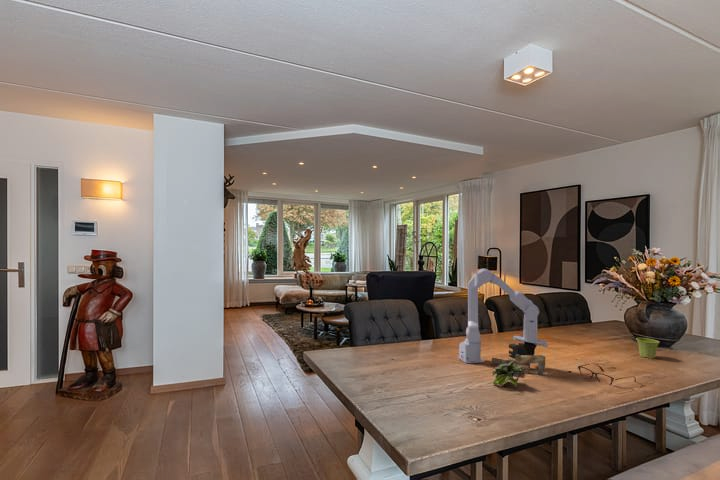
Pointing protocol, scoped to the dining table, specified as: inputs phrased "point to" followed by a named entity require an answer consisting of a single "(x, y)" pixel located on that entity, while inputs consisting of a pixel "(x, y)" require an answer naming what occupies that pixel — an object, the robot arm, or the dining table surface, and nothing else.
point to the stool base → (526, 366)
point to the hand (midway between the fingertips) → (529, 359)
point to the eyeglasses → (601, 374)
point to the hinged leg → (529, 359)
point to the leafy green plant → (506, 372)
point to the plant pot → (647, 347)
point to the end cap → (517, 350)
